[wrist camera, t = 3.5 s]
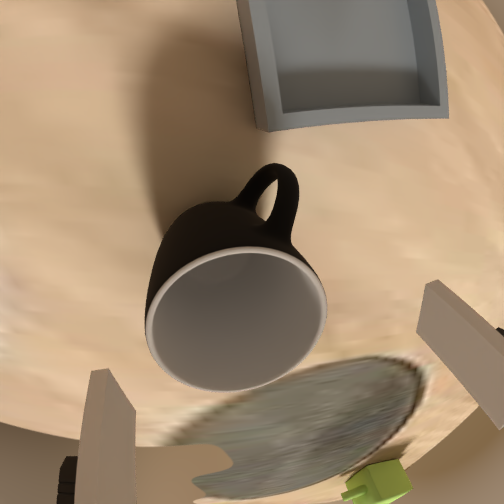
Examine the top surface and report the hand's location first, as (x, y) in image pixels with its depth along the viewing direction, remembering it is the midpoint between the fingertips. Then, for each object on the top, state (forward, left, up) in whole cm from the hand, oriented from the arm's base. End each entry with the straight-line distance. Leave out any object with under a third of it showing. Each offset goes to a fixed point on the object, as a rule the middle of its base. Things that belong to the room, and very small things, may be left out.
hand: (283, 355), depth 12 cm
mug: (0, 0, -13) cm, 13 cm away
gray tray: (+11, +15, -13) cm, 23 cm away
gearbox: (+19, -64, -14) cm, 68 cm away
